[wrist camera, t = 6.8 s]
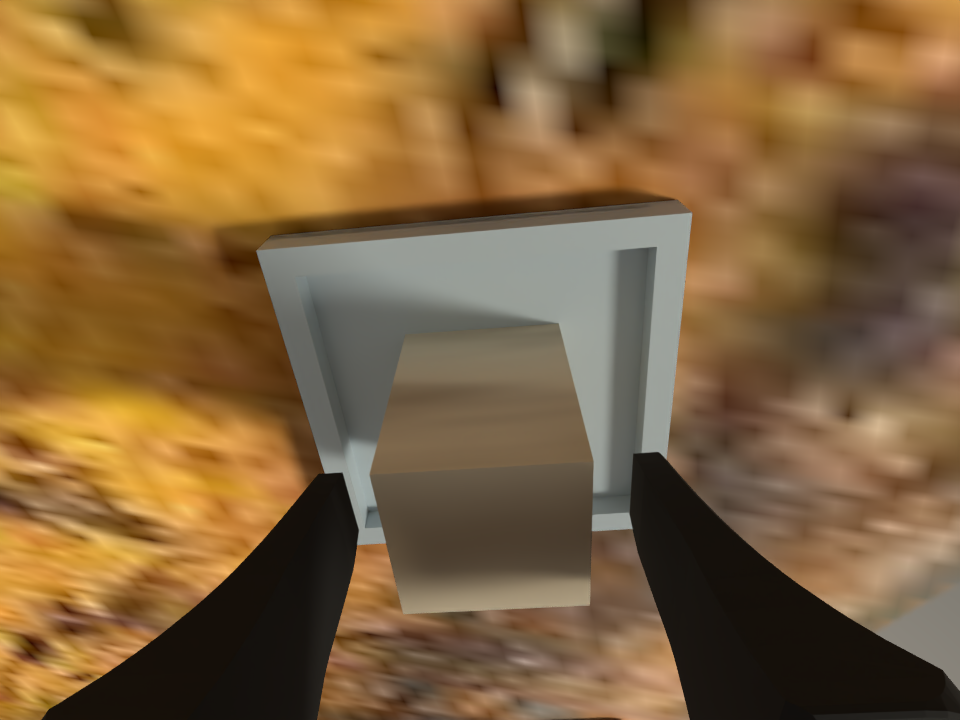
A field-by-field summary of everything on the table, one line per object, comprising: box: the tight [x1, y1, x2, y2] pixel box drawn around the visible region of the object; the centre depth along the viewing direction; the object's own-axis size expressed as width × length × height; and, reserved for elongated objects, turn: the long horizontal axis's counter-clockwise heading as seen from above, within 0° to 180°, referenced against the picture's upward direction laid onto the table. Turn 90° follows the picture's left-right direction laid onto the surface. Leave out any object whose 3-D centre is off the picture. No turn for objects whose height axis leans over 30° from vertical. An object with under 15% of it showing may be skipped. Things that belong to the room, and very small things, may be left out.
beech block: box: [369, 324, 594, 614], centre depth 15 cm, size 4×4×6 cm
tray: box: [256, 200, 692, 545], centre depth 17 cm, size 11×11×1 cm
